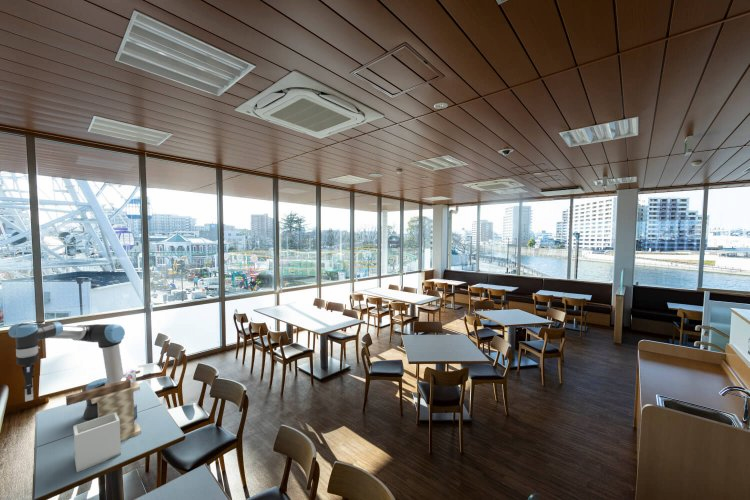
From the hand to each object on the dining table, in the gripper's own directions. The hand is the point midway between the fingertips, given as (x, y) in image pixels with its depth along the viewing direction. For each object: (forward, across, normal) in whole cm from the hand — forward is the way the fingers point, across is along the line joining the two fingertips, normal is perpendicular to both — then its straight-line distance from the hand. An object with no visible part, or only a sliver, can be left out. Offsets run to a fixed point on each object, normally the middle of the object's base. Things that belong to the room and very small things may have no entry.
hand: (29, 395), depth 158 cm
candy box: (+41, +65, -49) cm, 91 cm away
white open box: (+41, -11, -24) cm, 49 cm away
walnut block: (+11, +2, -28) cm, 30 cm away
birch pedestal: (+41, +2, -35) cm, 54 cm away
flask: (+41, +18, -45) cm, 63 cm away
